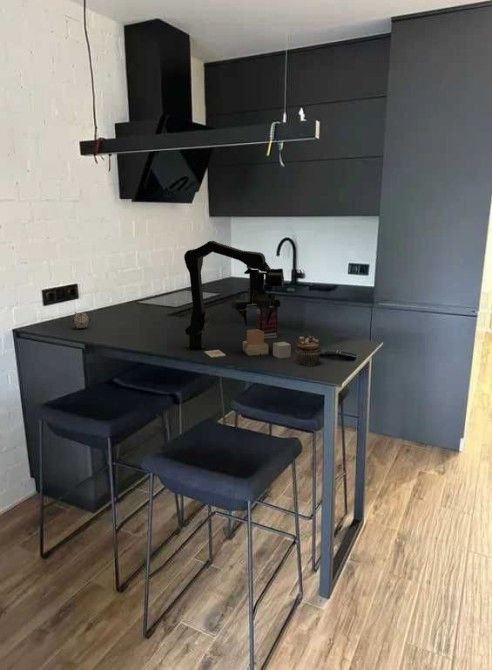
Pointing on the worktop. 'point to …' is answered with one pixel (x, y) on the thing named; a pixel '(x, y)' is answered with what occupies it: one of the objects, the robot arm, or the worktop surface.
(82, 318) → the beige faceted ball
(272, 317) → the supplement box
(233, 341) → the worktop surface
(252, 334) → the terracotta cube
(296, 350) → the cupcake
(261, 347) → the maple base block
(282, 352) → the grey plastic cube
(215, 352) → the card
